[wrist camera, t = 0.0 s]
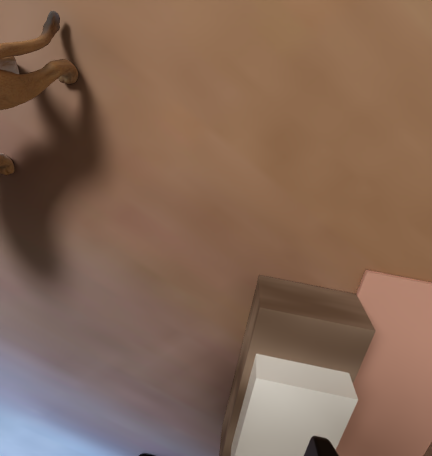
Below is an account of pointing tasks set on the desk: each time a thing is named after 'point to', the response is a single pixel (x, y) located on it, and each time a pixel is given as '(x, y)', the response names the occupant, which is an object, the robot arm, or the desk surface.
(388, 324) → the mat
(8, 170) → the lion figurine
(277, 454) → the white flat block
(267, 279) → the brown long block
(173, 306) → the desk surface
